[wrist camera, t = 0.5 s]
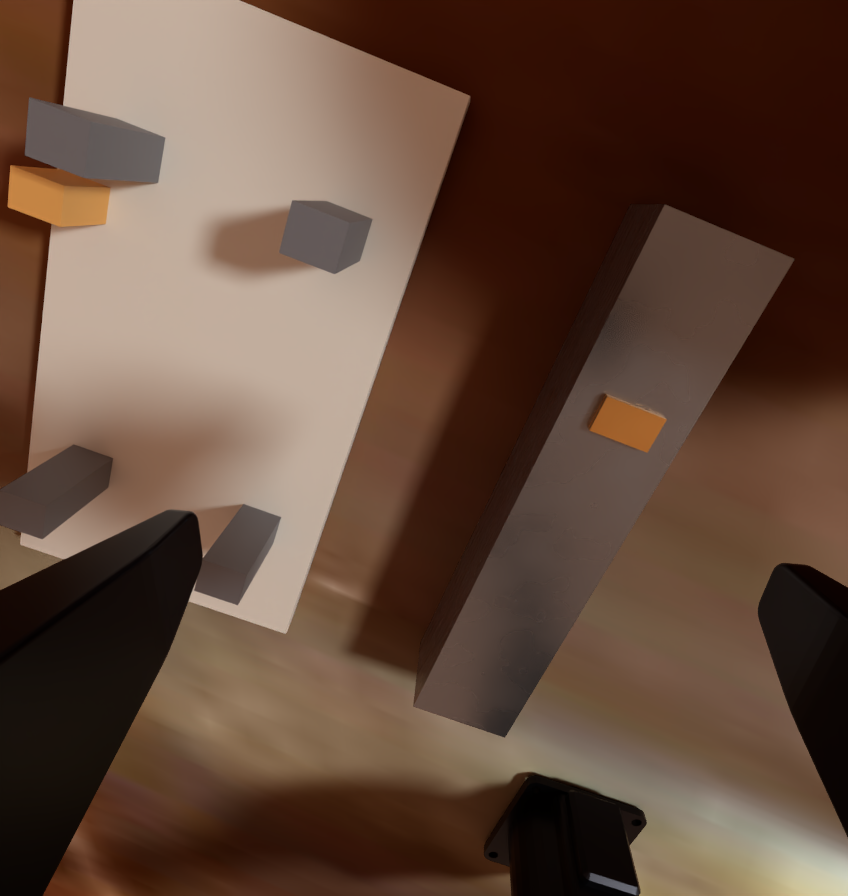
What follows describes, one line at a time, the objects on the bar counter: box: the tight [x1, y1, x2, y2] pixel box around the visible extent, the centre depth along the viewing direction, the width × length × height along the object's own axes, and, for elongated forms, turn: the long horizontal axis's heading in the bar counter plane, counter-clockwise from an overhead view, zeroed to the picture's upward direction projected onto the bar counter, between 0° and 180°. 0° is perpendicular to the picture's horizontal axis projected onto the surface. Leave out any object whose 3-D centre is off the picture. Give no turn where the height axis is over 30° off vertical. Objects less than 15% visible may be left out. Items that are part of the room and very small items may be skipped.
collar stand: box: [0, 0, 470, 634], centre depth 20 cm, size 22×12×5 cm, turn 160°
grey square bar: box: [413, 204, 795, 737], centre depth 22 cm, size 20×4×4 cm, turn 159°
